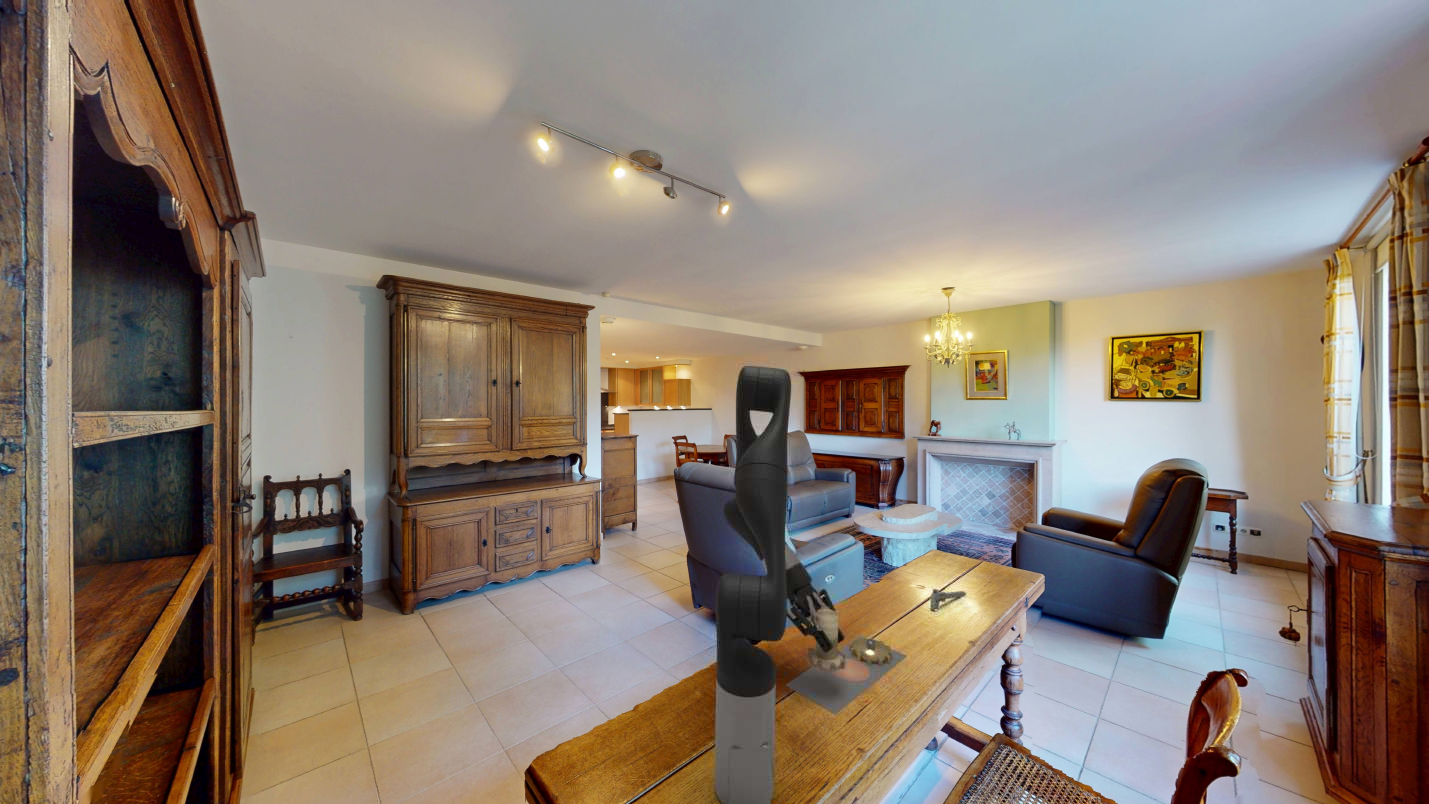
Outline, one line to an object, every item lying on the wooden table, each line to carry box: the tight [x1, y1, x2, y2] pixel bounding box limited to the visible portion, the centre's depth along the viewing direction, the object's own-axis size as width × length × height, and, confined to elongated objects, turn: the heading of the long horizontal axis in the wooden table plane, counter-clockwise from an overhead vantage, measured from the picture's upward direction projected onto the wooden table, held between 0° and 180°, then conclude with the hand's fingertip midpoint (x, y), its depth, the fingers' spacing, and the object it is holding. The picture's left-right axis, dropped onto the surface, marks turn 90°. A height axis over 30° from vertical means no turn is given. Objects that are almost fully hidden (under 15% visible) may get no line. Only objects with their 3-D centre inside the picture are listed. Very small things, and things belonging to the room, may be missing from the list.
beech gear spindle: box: [806, 608, 846, 673], centre depth 97 cm, size 8×8×10 cm
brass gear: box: [849, 636, 892, 666], centre depth 110 cm, size 9×9×3 cm
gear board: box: [785, 635, 908, 715], centre depth 104 cm, size 30×12×2 cm, turn 133°
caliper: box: [929, 588, 967, 612], centre depth 142 cm, size 20×1×6 cm, turn 128°
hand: (835, 645), depth 96 cm, fingers closed on beech gear spindle, 4 cm apart
